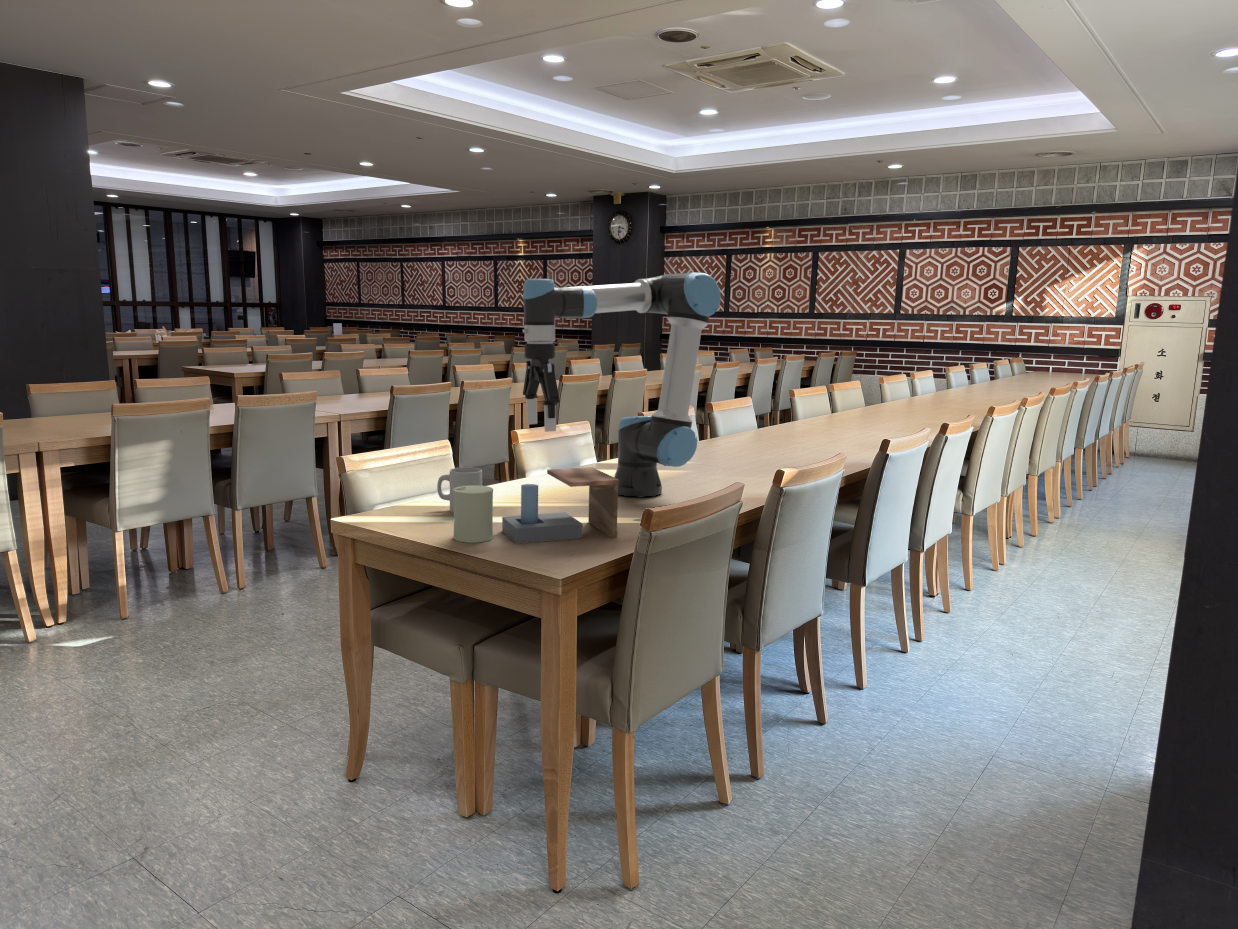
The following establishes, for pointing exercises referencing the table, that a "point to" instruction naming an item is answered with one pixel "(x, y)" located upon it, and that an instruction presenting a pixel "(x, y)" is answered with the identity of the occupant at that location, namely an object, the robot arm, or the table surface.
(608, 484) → the wooden l-bracket
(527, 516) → the peg
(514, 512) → the table surface
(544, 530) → the socket
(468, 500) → the can
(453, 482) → the mug
